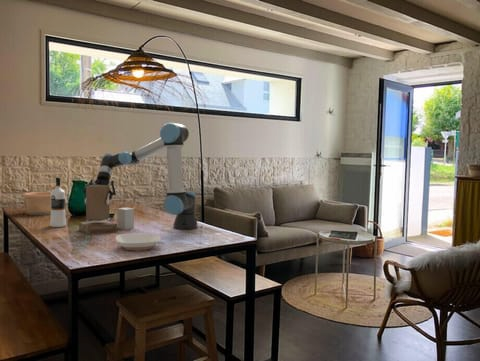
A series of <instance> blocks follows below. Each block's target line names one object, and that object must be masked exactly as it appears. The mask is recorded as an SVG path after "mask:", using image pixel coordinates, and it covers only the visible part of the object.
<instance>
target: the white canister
mask: <svg viewBox="0 0 480 361" xmlns="http://www.w3.org/2000/svg"><path fill="white" fill-rule="evenodd" d="M116 210H117V215H116V218H117V219H116V224H117V229H119V230H130V229H134V228H135V208H134V207H133V208H131V207H121V208H120V207H119V208H117V209H116Z"/></svg>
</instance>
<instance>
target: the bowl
mask: <svg viewBox="0 0 480 361" xmlns="http://www.w3.org/2000/svg"><path fill="white" fill-rule="evenodd" d="M161 240H162V239H161V236H159V234H156V233H154V232H151V233H150V232H138V233H137V232H135V233H133V232H132V233H121V234H118V235H116V236H115V241H116V242H117V243H118V244H119V245H121V247H123V248H124V249H125V251H128V250H144V251H147V250H146V249H150V250H152V249H153V248H154V247H155V246H156V245H157V244H158V243H159V242H160V241H161Z"/></svg>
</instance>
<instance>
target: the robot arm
mask: <svg viewBox="0 0 480 361" xmlns="http://www.w3.org/2000/svg"><path fill="white" fill-rule="evenodd" d="M189 134H190V132H189V129H188V128H187V126H186V125H184V124H181V123H176V122H167V123H165V124H163V126H162V127H161V129H160V132H159V136H160V137H159V138H158V139H156V140H154V141H152V142H150V143H148V144H145V145H144V146H141V147H139V148H137V149H135V150H134V151H132V152H129V151H122V152H119V153H116V154H112V153H105V154H104V155H103V156H102V159H101V162H100V167H99V170H98V174H97V176H96V180H94V179H90V181H89V183H88V184H87V185H86V187H87V186H89V185H108V186H111V188H112V190H111V189H109V193H108V197H107V201H106V203H107V205H109V206H110V202H111V200H112V198H113V196H116V195H117V193H116V189H115V181H114V179H113V180H111V176H112V173H113V169H114V168H117V167H121V166H131V165H132V166H133V165H134V166H135V165H138V164H140V162H141V161H144V160H145V159H147V158H150V157H151V156H154V155H155V154H158V153H160V152H162V151H164V150H166V160H167V162H166V164H167V180H168V181H167V182H168V183H167V184H168V190H166V192H165V194H166V196H165V199H164V200H163V208H164V210H165V211H166V212H167V213H168V214H169V215H175V218H174V221H173V224H172V225H173V228H174V229H178V230H193V229H192V228H194V229H197V228H198V222H197V218H196V199H197V197H196V193H195V192H194V191H190V190H189V191H188V190H185V189H184V182H183V181H184V178H183V177H184V176H183V161H182V160H183V159H182V157H183V156H182V148H183V147H184V143H185V142H186V141H187V140H188V138H189ZM110 180H111V181H110ZM86 187H85V188H84V189H83V190H82V193H83V195H84V204H85V205H86ZM196 227H197V228H196Z"/></svg>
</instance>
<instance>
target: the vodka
mask: <svg viewBox="0 0 480 361" xmlns="http://www.w3.org/2000/svg"><path fill="white" fill-rule="evenodd" d="M50 192H51V193H50V194H51V214H50V220H49V226H50V227H51V228H63V227H66V226H67V218H66V191H65V190H64V189H63V188H61V177H55V188H54V189H52V190H51V191H50Z"/></svg>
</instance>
